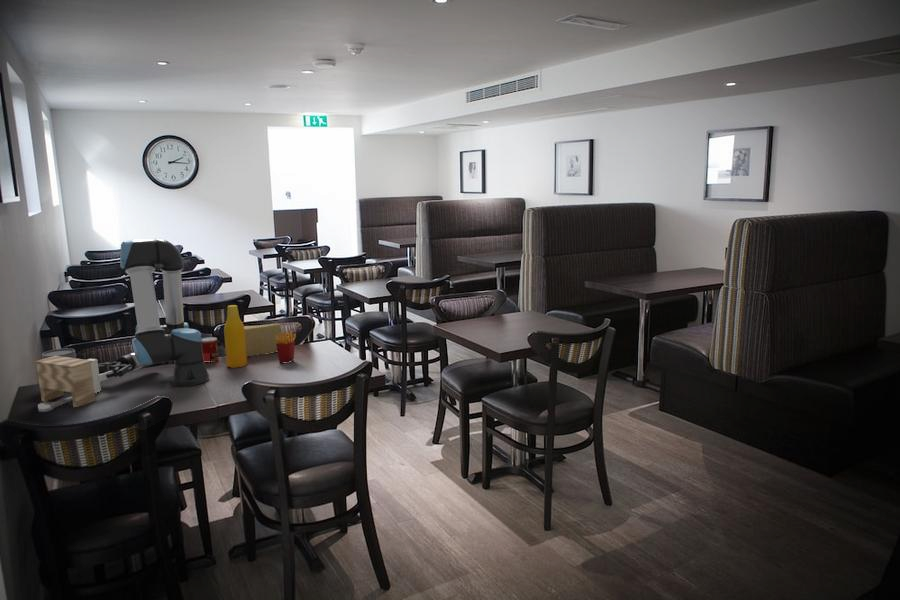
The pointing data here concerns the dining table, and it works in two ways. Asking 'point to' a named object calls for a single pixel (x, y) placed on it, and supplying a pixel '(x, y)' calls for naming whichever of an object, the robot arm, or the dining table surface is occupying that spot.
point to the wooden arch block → (95, 381)
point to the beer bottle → (234, 339)
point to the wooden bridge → (66, 379)
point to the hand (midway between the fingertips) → (86, 376)
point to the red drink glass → (210, 349)
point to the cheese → (261, 338)
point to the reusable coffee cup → (60, 353)
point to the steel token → (45, 406)
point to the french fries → (285, 347)
